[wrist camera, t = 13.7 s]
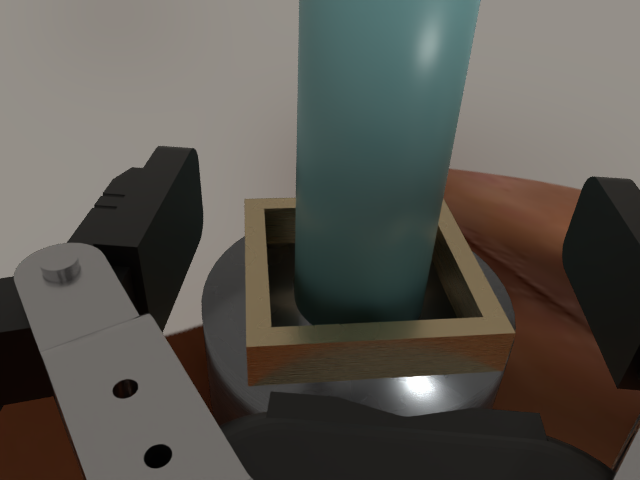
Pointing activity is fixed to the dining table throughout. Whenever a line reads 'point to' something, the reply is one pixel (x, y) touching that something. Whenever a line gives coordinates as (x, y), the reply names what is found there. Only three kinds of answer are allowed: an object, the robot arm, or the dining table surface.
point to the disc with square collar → (351, 330)
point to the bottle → (374, 151)
